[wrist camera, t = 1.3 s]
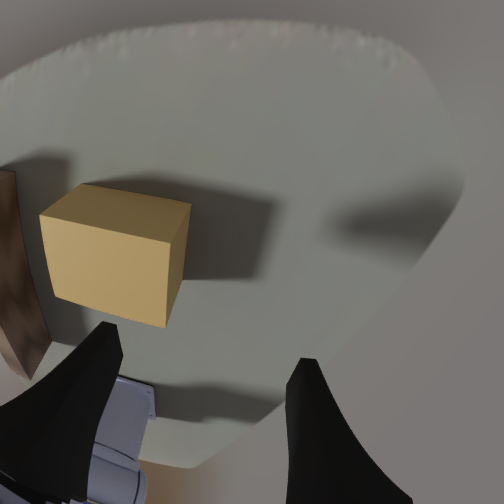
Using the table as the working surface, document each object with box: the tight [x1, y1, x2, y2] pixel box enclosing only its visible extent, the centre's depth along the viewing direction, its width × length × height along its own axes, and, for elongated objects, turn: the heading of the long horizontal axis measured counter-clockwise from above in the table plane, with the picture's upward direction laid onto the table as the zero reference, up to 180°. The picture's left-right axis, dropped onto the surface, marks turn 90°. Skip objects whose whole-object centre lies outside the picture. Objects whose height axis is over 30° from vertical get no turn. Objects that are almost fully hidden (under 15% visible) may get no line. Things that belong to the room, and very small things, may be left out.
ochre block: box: [39, 184, 192, 328], centre depth 17 cm, size 6×8×5 cm
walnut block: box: [0, 170, 52, 381], centre depth 18 cm, size 20×3×6 cm, turn 166°
